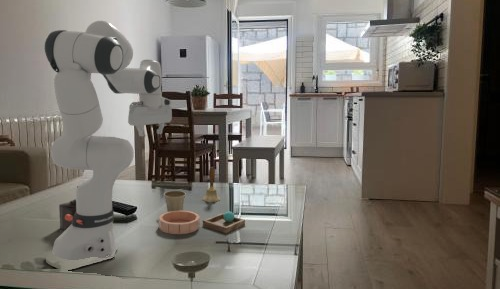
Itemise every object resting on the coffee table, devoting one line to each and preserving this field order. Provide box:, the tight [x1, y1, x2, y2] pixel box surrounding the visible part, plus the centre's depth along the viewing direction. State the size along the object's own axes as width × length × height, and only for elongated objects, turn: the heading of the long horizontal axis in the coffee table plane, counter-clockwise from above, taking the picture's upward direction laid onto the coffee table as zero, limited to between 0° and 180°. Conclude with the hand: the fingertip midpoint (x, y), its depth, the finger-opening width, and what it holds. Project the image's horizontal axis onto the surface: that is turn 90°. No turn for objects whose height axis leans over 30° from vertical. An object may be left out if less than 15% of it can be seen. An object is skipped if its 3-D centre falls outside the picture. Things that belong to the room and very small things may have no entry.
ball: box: [223, 210, 235, 222], centre depth 170 cm, size 4×4×4 cm
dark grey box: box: [58, 185, 79, 231], centre depth 157 cm, size 16×11×18 cm
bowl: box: [158, 210, 201, 235], centre depth 165 cm, size 16×16×4 cm
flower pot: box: [163, 190, 187, 212], centre depth 180 cm, size 9×9×9 cm
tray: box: [202, 212, 246, 234], centre depth 168 cm, size 12×12×2 cm
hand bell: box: [202, 166, 221, 203], centre depth 200 cm, size 8×8×16 cm
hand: (150, 134), depth 172 cm, fingers open, 8 cm apart
